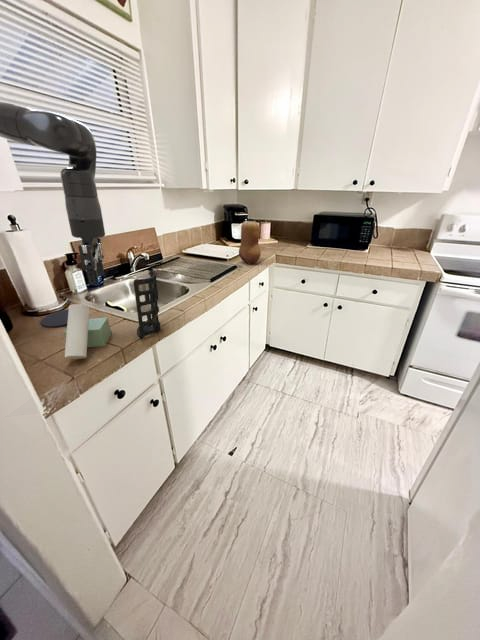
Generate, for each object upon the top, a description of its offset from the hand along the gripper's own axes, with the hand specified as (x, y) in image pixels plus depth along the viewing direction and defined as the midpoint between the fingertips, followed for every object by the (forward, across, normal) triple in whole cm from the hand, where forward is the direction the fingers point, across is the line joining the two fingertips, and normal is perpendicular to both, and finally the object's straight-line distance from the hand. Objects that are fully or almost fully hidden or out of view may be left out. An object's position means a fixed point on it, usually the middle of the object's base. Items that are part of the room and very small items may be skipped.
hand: (97, 280), depth 71 cm
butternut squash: (+14, -78, +71) cm, 106 cm away
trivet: (+22, -26, -20) cm, 39 cm away
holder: (+21, -8, +12) cm, 25 cm away
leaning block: (+22, -6, -6) cm, 23 cm away
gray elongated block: (+22, 0, -7) cm, 23 cm away
